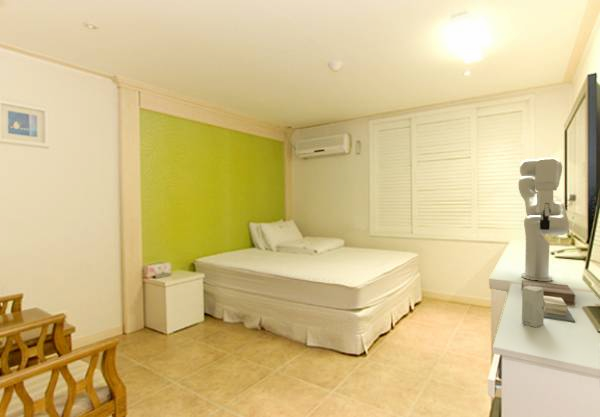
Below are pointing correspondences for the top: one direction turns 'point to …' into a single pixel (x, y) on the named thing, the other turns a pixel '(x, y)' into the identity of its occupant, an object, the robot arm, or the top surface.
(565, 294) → the step
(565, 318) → the mat
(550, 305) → the beige rectangular block
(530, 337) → the top surface
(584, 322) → the top surface
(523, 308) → the skincare box
